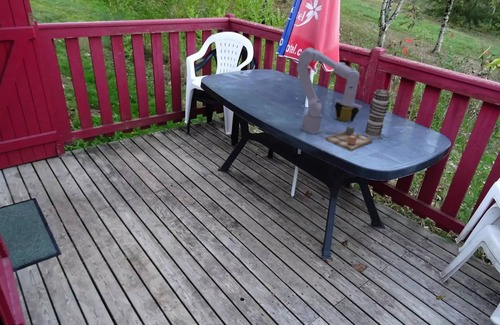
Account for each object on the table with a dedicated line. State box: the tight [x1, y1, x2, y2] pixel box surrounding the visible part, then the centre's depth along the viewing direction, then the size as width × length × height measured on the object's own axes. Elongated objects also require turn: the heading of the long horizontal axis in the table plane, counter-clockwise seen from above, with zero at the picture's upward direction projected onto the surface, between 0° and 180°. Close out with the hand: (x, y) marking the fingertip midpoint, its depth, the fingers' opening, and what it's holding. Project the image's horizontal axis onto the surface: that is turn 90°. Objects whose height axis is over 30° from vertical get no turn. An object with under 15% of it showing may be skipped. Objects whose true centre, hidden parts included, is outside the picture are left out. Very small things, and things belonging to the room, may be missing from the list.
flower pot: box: [334, 105, 354, 122], centre depth 214 cm, size 9×9×9 cm
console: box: [325, 130, 373, 152], centre depth 187 cm, size 16×19×2 cm
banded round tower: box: [364, 88, 391, 139], centre depth 191 cm, size 9×9×25 cm
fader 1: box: [345, 125, 356, 135], centre depth 191 cm, size 3×3×4 cm
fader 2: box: [347, 135, 357, 144], centre depth 180 cm, size 3×3×4 cm
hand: (344, 119), depth 189 cm, fingers open, 7 cm apart
